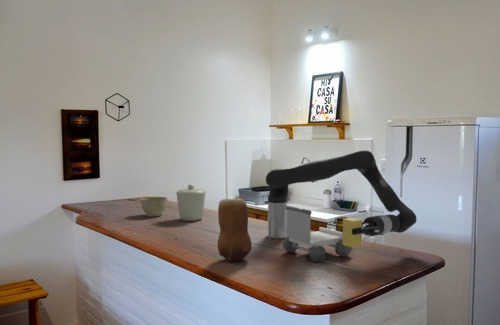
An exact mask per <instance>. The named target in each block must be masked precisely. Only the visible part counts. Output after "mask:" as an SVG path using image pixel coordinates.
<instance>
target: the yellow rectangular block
mask: <svg viewBox="0 0 500 325" xmlns="http://www.w3.org/2000/svg"><path fill="white" fill-rule="evenodd" d="M362 222H363V220H362V219H360V218H355V217H347V218H346V219H343V238H342V245H345V246H348V247H351V249H352V248H357V247H362V239H363V238H362V236H363V234H356V235H353V234H352V229H354V228H360V227H362Z"/></svg>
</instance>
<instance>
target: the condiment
mask: <svg viewBox="0 0 500 325" xmlns="http://www.w3.org/2000/svg"><path fill="white" fill-rule="evenodd" d="M346 218H348V217H347V216H338V217H336V223H335V231H338V232H342V231H341V226H343V219H346ZM342 233H343V232H342ZM334 244H335V245H336V244H337V243H334Z"/></svg>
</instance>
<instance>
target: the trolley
mask: <svg viewBox="0 0 500 325" xmlns="http://www.w3.org/2000/svg"><path fill="white" fill-rule="evenodd" d="M286 210H287V237H285V238H284V240H283V242H282V248H283V250H284V251H285V252H286V253H289V254H293V253H295V252H296V251H297V250H300V251H302V252H303V251H304V252H306V253H309V254H308V255H309V258H310V260H311V261H312V262H315V263H318V264H319V263H321V262H324V260H325V258H326V255H327V252H326V248H325V247H324V246H328V247H331V248H334V249H335V250H334V251H335V253H336V255H337V256H340V257H343V258H346V257H347V256H349V255H350V253H351V250H352V248H351V247H348V246H345V245H342V238H343V233H342V232H338V231H336V230H334V229H330V228H326V227H321V226H319V230H318V231H317V230H316V231H311V215H312V210H309V209H305V208H300V207H296V206H295V207H294V206H291V205H287V206H286ZM334 243H337V244H334ZM300 245H301V246H300ZM303 246H304V247H303ZM305 247H307V248H305ZM309 248H310V249H309Z"/></svg>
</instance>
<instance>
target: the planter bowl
mask: <svg viewBox="0 0 500 325" xmlns="http://www.w3.org/2000/svg"><path fill="white" fill-rule="evenodd" d="M167 202H168V197H165V196H148V197H142V198H140V205H141V208H142V210H143V211H144V213H145V214H146V217H148V218H149V217H151V218H152V217H161V216H163V213H164V211H165V209H166V207H167Z"/></svg>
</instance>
